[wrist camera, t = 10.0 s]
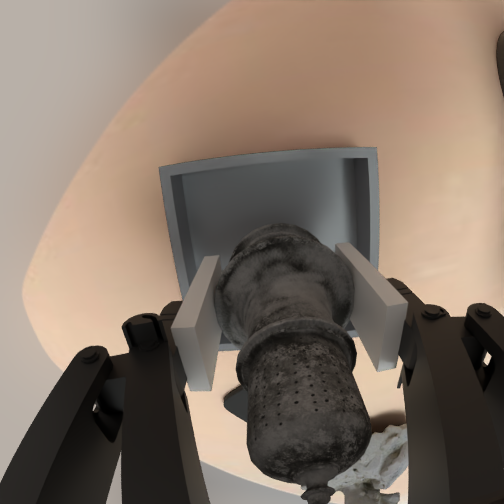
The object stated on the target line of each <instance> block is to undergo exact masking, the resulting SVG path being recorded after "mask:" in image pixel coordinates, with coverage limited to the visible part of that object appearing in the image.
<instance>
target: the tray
mask: <svg viewBox="0 0 504 504" xmlns="http://www.w3.org/2000/svg"><path fill="white" fill-rule="evenodd" d="M159 173H160V180H161V187H162V194H163V200H164V207H165V213H166V219H167V225H168V230H169V236H170V241H171V247H172V252H173V257H174V262H175V267H176V272H177V276H178V281H179V286H180V290H181V295H182V299H183V300H184V298H185V296H186V294H187V292H188V290H189V288H190V286H191V283H192V281H193V279H194V277H195V275H196V273H197V271H198V269H199V267H200V265H201V263H202V261H203V259H204V257H205V256H215V255H219V256H220V263H221V269H222V271H223V270H224V269H225V267H226V266H227V265H228V264H229V261H230V258H231V256H232V253H233V251H234V249H235V247H236V246H237V245H238V244H239V242H240V241H241V240H242V239H243V237H245V236H246V235H248V234H249V233H250V232H252V231H253V230H255V229H257V228H260V227H262V226H265V225H268V224H277V223H285V224H292V225H296V226H299V227H301V228H303V229H305V230H308V231H309V232H310V233H311V234H312V235H314V236H315V237H316V238H317V239H318V240H319V241H320V243H321V244H323V245H326V246H328V247H329V248H330V249H331V250H332V251H333V252H335V244H337V243H347V242H349V243H350V244H351V245H352V246H353V247H354V248H356V249H357V250H358V251H359V252H360V253H361V254H362V255H363V256H364V257H365V258H366V259H367V260H368V261H369V262H370V263H371V264H372V265H373V266H374V267H375V268H376V269H377V270H378V261H379V178H378V160H377V147H347V148H318V149H300V150H286V151H273V152H262V153H252V154H243V155H234V156H226V157H219V158H211V159H204V160H198V161H191V162H185V163H179V164H173V165H167V166H162V167H159ZM344 329H345V330H346V331H347V332H348V334H349V335H350V337H351V338H353V337H359V336H358V334H357V332H356V330H355V328H354V326H353V324H352V322H351V320H349V322H348V323H347V325H346V327H345V328H344ZM233 350H240V349H238V348H237V347H235V346H234V345H233V344H232V343H231V342H230V341H229V340H228V338H227V337H226V336H225V335H224V334H223V332H222V333H221V339H220V344H219V350H218V351H233Z"/></svg>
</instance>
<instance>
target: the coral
mask: <svg viewBox="0 0 504 504" xmlns="http://www.w3.org/2000/svg"><path fill="white" fill-rule="evenodd" d="M407 466H408V438H407V424H403V425H400V426H394V425H389V426H388V427H387V428H385V430H384V432H383V433H377V432H374V433H373V434H372V437H371V440H370V443H369V445H368V447H367V449H366V451H365V453H364V455H363V456H362V457H361V458H360V460H359V461H357V462H356V463H355V464H354V465H352V466H351V467H350V468H349V469H347V470H346V471H345V472H343V473H341V474H339V475H337V476H336V477H335V478H333V479H332V480H330V481H328V486H329V487H332V488H334V489H335V491H341V492H343V493H344V495H345V504H397V503H398V502H399V501H400V493H394V494H383V493H380V489H387V488H388V487H390V486H391V485H392V483H393V482H394V481H395V480H396V479H397V478H398V477H399V476H400V475H401V474H402V473H403V472H404V470H405V469H406V468H407ZM301 489H302V490H306V489H307V488H306V486H303V485H301Z"/></svg>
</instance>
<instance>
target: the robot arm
mask: <svg viewBox="0 0 504 504" xmlns="http://www.w3.org/2000/svg"><path fill="white" fill-rule="evenodd" d="M497 65H498V72H499V77H500V82H501V86H502V91H503V94H504V32H503V33H502V34H501V35H500V37H499V40H498V44H497ZM335 253H336V254H337V255H338V256H339V257H340V258H341V259H342V260H343V262H344V263H345V265H346V267H347V268H348V270H349V271H350V273H351V276H352V280H353V284H354V288H355V292H354V308H353V311H352V314H351V317H350V320H351V322H352V324H353V326H354V328H355V330H356V332H357V334H358V336H359V337H360V339H361V341H362V343H363V345H364V347H365V349H366V351H367V353H368V355H369V357H370V359H371V361H372V363H373V365H374V367H375V369H376V371H377V372H380V371H384V370H389V369H393V368H396V365H397V361H398V356H400V358H401V359H402V361H403V366H402V370H401V374H400V378H399V381H398V385H397V388H400V386H401V383H402V384H403V392H404V401H405V411H406V423H407V438H408V467H409V485H408V504H504V316H503V315H501V314H500V313H499V312H498V311H497V310H496V309H495V308H493V307H491V306H489V305H487V304H485V303H483V304H482V303H476V304H472V305H470V306H469V307H468V309H467V313H466V317H450V315H449V313H448V312H447V311H446V310H445V309H444V308H442V307H440V306H437V305H431V304H426V305H425V304H424V303H423V302H422V301H421V300H420V299H419V298H418V297H417V296H416V295H415V294H414V293H412V291H411V290H410V289H408V287H407V286H406V285H405V284H404V283H403V282H401V281H399V280H397V279H395V278H388V279H385V278H384V276H383V275H382V274H381V273H380V272H379V271H378V270H377V269H376V268H375V267H374V266H373V265H372V264H371V263H370V262H369V261H368V260H367V259H366V258H365V257H364V256H363V255H362V254H361V253H360V252H359V251H358V250H357V249H356V248H354V247H353V246H352V245H351V244H350V243H349V242H347V243H337V244H335ZM221 273H222V269H221V263H220V256H219V255H215V256H205V257H204V259H203V261H202V263H201V265H200V267H199V269H198V271H197V273H196V275H195V277H194V279H193V281H192V283H191V286H190V288H189V290H188V292H187V294H186V296H185V298H184V300H183V301H172V302H170V303H169V304H168V305H166V306H165V307H164V308H163V310H162V312H161V313H160V316H159V315H157V314H153V313H144V314H139V315H136V316H133V317H131V318H129V319H128V320H127V321H125V322H124V323H123V325H122V330H123V333H124V336H125V338H126V341H127V344H128V346H129V353H125V354H121V355H115V356H109V354H108V351H107V349H106V348H104V347H103V346H89V347H86V348H84V349H83V350H81V351H80V352H78V353H77V354H76V356H75V357H74V358H73V360H72V361H71V363H70V364H69V366H68V367H67V368H66V370H65V371H64V373H63V375H62V376H61V378H60V379H59V381H58V382H57V384H56V385H55V387H54V388H53V390H52V391H51V393H50V394H49V396H48V398H47V399H46V401H45V402H44V404H43V406H42V407H41V409H40V411H39V412H38V414H37V416H36V417H35V419H34V421H33V422H32V424H31V426H30V427H29V429H28V431H27V433H26V434H25V436H24V438H23V440H22V441H21V444H20V445H19V447H18V449H17V451H16V453H15V455H14V456H13V458H12V460H11V462H10V464H9V466H8V468H7V470H6V472H5V474H4V476H3V478H2V480H1V483H0V504H106V501H107V497H108V493H109V490H110V486H111V483H112V479H113V476H114V472H115V469H116V466H117V462H118V459H119V456H120V452H121V489H122V504H210V501H209V497H208V493H207V489H206V485H205V482H204V478H203V473H202V469H201V465H200V460H199V456H198V451H197V447H196V442H195V437H194V432H193V427H192V422H191V416H190V411H189V405H188V399H187V396H186V393H185V391H184V389H185V385H186V381H187V383H188V386H189V389H190V391H211V390H212V384H213V378H214V373H215V367H216V361H217V355H218V350H219V344H220V339H221V333H222V330H221V328H220V326H219V324H218V322H217V318H216V313H215V307H214V295H215V288H216V285H217V283H218V280H219V278H220V276H221ZM487 352H488V353H489V354H490V355H491V356H492V357H491V359H490V362H489V364H488V365H486V364H485V363H484V358H485V356H486V353H487ZM94 404H96V408H95V409H94V411H93V406H94Z"/></svg>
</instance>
